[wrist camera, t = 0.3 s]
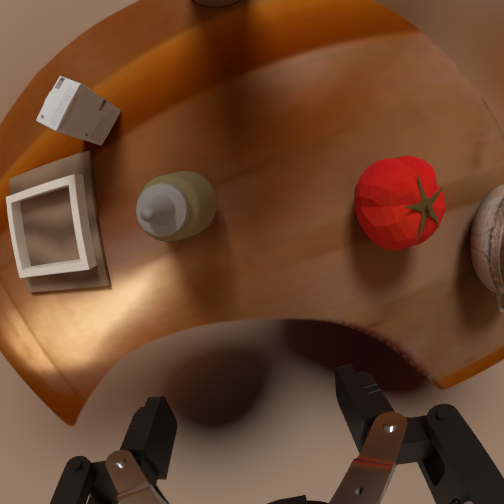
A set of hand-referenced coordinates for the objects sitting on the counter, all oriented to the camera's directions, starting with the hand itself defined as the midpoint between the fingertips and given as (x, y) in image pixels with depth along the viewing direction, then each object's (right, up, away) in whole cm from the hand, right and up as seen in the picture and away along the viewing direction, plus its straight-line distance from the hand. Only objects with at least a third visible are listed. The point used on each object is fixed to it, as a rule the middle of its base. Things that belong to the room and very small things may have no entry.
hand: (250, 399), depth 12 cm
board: (-31, +11, +25) cm, 42 cm away
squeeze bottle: (-8, +13, +26) cm, 30 cm away
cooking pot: (+43, +10, +29) cm, 53 cm away
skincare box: (-22, +25, +23) cm, 41 cm away
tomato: (+18, +14, +27) cm, 35 cm away
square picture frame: (-31, +11, +25) cm, 42 cm away
